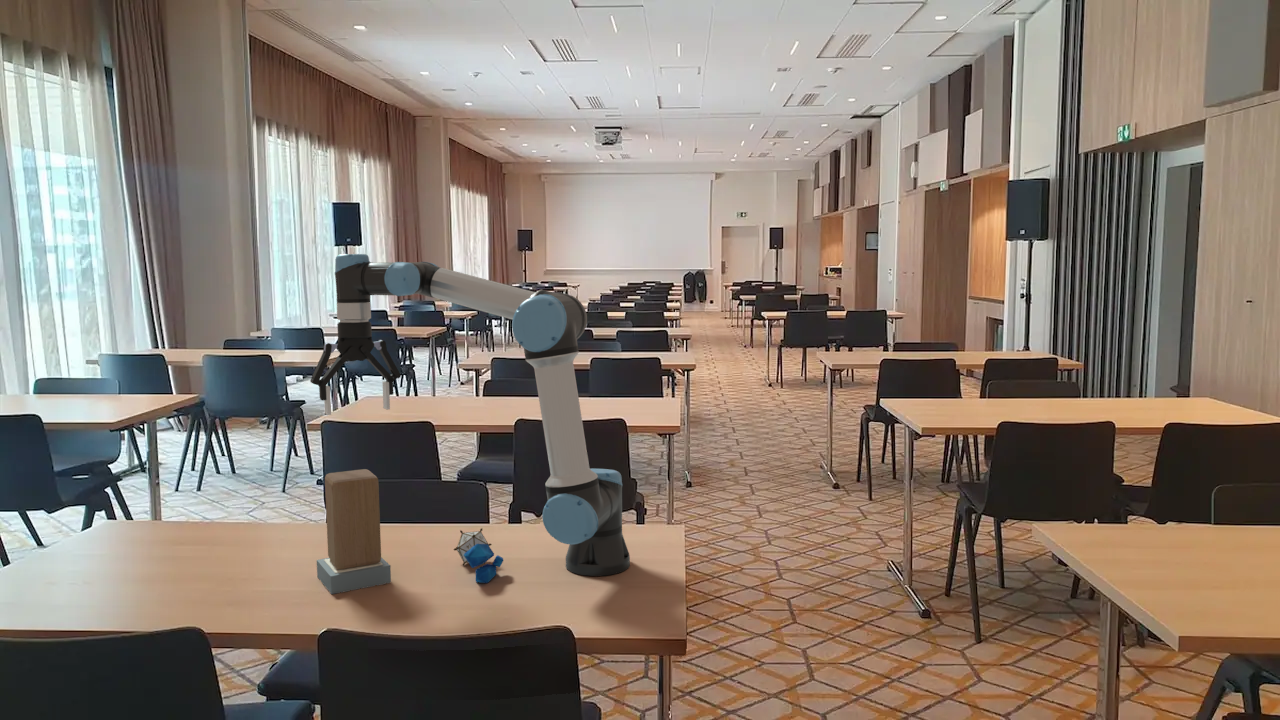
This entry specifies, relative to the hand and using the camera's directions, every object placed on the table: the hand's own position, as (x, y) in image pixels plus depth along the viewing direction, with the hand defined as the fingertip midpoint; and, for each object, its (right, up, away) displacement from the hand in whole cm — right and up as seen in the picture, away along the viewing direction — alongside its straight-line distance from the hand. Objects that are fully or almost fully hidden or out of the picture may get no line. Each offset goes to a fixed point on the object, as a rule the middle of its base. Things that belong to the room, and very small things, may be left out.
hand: (357, 411), depth 211 cm
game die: (+26, -37, +4) cm, 45 cm away
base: (+1, -38, -7) cm, 38 cm away
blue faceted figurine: (+31, -38, -7) cm, 49 cm away
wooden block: (+2, -34, -7) cm, 34 cm away
